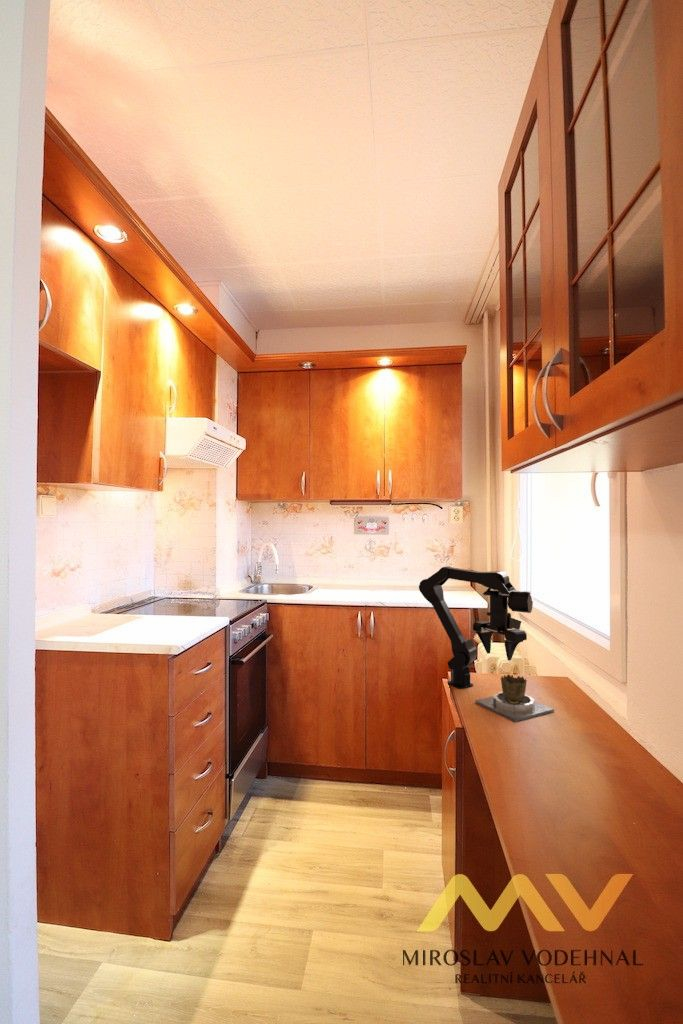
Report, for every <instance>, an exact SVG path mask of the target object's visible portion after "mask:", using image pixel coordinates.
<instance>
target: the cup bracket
mask: <svg viewBox="0 0 683 1024" xmlns="http://www.w3.org/2000/svg"><path fill="white" fill-rule="evenodd" d="M507 700H508V699H507V698H506V697H505V696H504V694H503V691H499V692H495V693H494V694H493V696H489V697H485V698H480V699H476V700H474V701H475V704H477V705H479V706H480V707H483V708H485V709H487V710H490V712H491V711H492V712H493V713H496V714H497V715H500V716H502V717H504V718H506V719H508V720H510V721H512V722H514V723H518V722H521V721H524V720H529V719H533V718H536V717H540V716H544V715H547V714H551V713H554V712H555V709H554V708H552V707H550V706H547V705H545V704H542V703H541V702H538V701H535V699H534V698H533V697H532V696H530V695H528V694H526V693H525V695H524V698H523V699H522V700H520V704H512V703H508V702H507Z"/></svg>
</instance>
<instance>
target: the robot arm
mask: <svg viewBox="0 0 683 1024" xmlns="http://www.w3.org/2000/svg"><path fill="white" fill-rule="evenodd" d="M449 579H451V580H455V581H456V580H457V581H462V582H463V581H464V582H470V583H474V584H478V585H481V586H483V587H485V588H487V589H486V590H485V591H484V592H483V594H482V595H483V596H488V597H489V611H486V616H489V621H487V620H481V621H480V620H479V621H474V623H473V624H472V630H473V631H474V632H475V634H477V636H478V638H479V639H480V641H481V643H482V646H483V648H484V651H485V652H486V653H487V654H491V650H492V649H491V648H492V647H491V646H492V636H493V634H499V635H503V636H504V638H505V639H504V640H503V642H504V643H503V644H504V648H505V654H506V658H507V661H512V659H513V656H514V653H515V651H516V648H517V646H518V645H519V644H520V643H523V642H524V641H527V640H528V637H527V636H528V635H527V632H526V631H525V630H522V629H520V628H521V624H522V621H521V620H519V619H516V618H513V617H512V614H511V612H516V613H517V612H519V613H527V614H531V613H532V611H533V603H534V602H533V601H534V600H533V598H532V595H531V590H530V591H529V590H526V591H525V590H524V591H521V590H516V588H515V587H514V585H513V584H512V582H511V581H510V576H509V575H508V574H507V572H506V571H503V570H495V571H494V570H493V571H478V570H472V569H471V570H470V569H465V568H459V567H458V568H457V567H452V566H448V565H447V566H442V567H441V568H440V569H439V570H438V571H436V572H435V573H434V574H432V575H431V576H429V577H428V578H424V579H422V580H421V581H420V582H419V584H418V590H419V592H420V593H421V595H422V596H423V598H424V599H425V600H426V601H427V602H429V604H431V606H432V608H433V610H434V611H435V613H436V615H437V617H438V619H439V621H440V624H441V625H442V627H443V629H444V631H445V632H446V635H447V636H448V638H449V641H450V646H451V653H452V655H453V657H452V658H450V660H448V661H447V665H448V666H447V667H448V669H449V670H450V680H448V681H447V682H446V684H449V685H451V686H452V687H455V688H457V689H465V688H469V687H474V684H473V683H471V671H470V670H471V669H470V667H469V666H471V665H472V663H473V661H475V660H476V659H477V656H478V651H477V650H478V649H477V646H476V645H474V641H473V639H472V638H471V637H470V638H468V639H467V638H466V637H465V636H464V635H463V633H462V631H461V629H460V628H459V625H458V624H457V621H456V620H455V619H456V618H454V616H453V614H452V612H451V610H450V608H449V606H448V605H447V602H446V601H445V597H444V590H443V587H442V586H443V585H444V584H446V582H447V581H449ZM508 609H509V610H510V611H511V612H509V611H508Z"/></svg>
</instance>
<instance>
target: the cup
mask: <svg viewBox="0 0 683 1024" xmlns="http://www.w3.org/2000/svg"><path fill="white" fill-rule="evenodd" d="M500 683H501V690H502V691H503V694H504V696H505V697H506V698H507V699H508V700H507V702H508V703H512V704H520V700H522V699H523V698H524V695H525V694H526V691H527V690H526V687H527V679H526V678H524V677H523V676H518V675H517V677H514V675H513V674H511V675H510V674H507V675H505V674H504V675H502V676H501V677H500ZM502 691H501V692H502Z"/></svg>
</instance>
